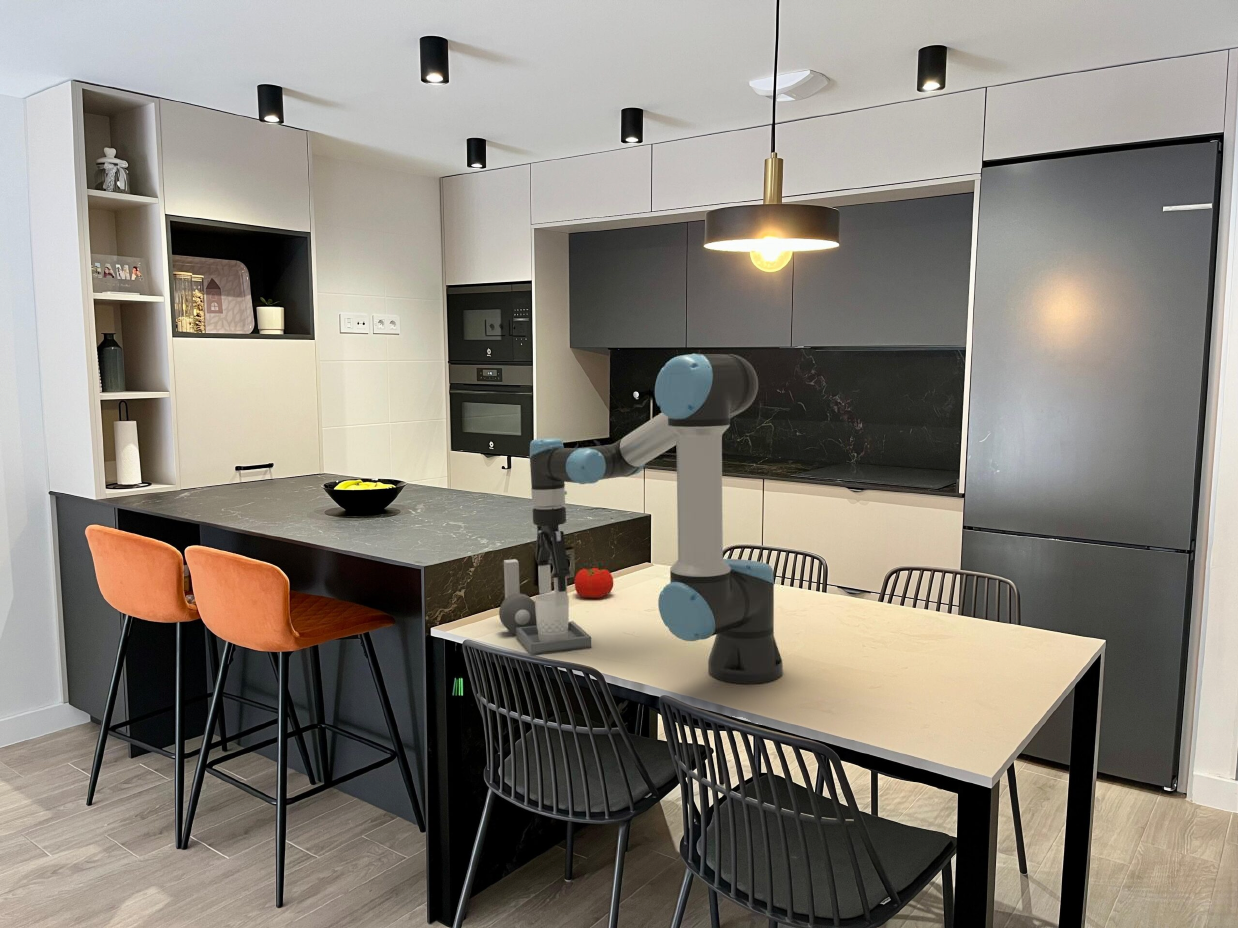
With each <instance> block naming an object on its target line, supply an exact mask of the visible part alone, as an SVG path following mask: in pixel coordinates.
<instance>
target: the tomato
mask: <svg viewBox="0 0 1238 928" xmlns="http://www.w3.org/2000/svg"><path fill="white" fill-rule="evenodd" d="M574 589H575V592H576V594H577V595H578V596H581V597H583V598H585V599H600V598H603V597H605V596H607V595H608V594H610V593H611V592H612V590H613V589H614V578H613V576H612V574H611V572H610V571H609V570H608V569H604V568H603V569H599V568H598V567H593V568H589V569H586V568H582V569H580V570H578V572H576V575H575V576H574Z"/></svg>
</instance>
